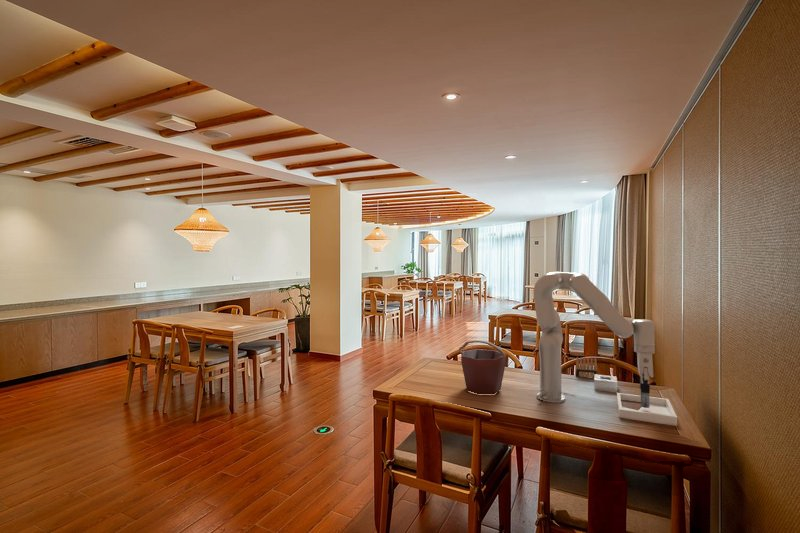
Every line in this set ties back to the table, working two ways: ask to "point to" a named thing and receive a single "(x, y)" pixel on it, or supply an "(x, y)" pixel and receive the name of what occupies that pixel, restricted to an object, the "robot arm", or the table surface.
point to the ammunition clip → (586, 368)
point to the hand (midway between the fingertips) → (644, 390)
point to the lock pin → (644, 399)
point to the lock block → (605, 383)
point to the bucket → (483, 368)
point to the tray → (648, 410)
